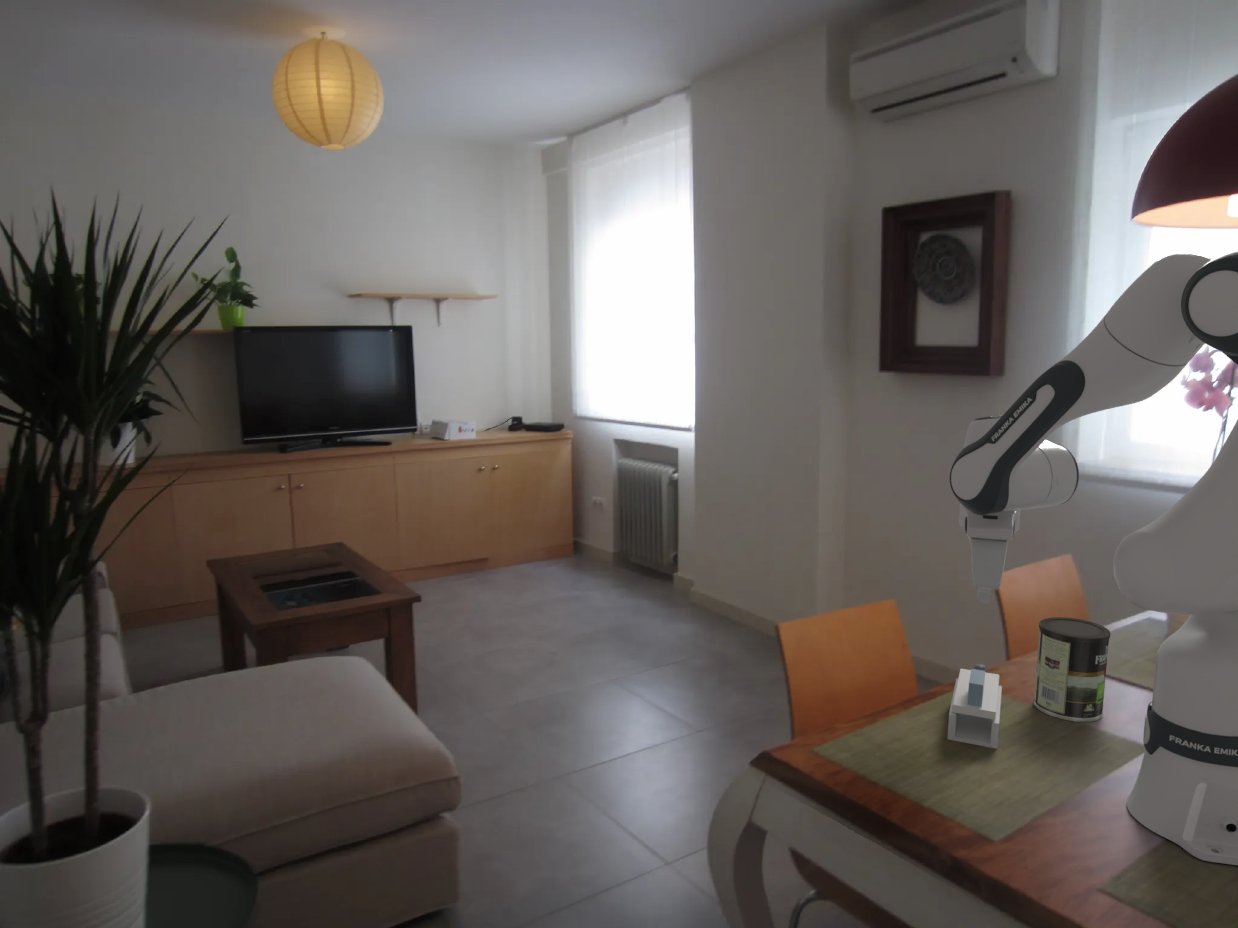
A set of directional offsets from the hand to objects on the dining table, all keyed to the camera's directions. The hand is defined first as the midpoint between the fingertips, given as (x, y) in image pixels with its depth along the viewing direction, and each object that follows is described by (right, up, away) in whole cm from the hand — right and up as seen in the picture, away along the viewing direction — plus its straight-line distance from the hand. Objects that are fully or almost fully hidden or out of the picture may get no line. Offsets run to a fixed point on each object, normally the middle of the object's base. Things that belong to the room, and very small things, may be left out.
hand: (983, 601), depth 136 cm
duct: (-2, -19, -1) cm, 19 cm away
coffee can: (+16, -19, +4) cm, 25 cm away
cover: (-1, -19, 0) cm, 19 cm away
